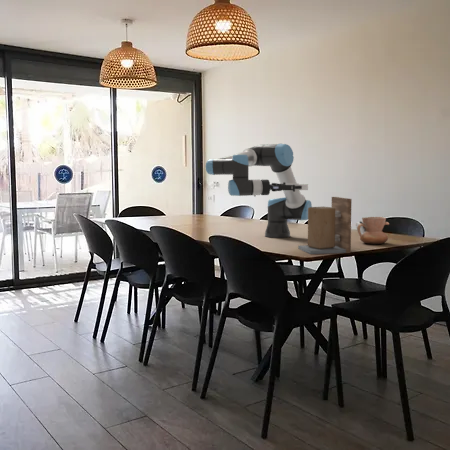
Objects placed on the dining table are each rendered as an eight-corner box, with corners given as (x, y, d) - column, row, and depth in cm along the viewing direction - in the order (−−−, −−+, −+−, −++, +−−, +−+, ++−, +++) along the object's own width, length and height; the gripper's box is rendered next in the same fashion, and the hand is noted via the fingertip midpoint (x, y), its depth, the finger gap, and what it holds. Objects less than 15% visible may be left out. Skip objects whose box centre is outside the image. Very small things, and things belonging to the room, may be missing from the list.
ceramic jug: (382, 241, 292) (382, 215, 291) (394, 244, 278) (394, 217, 277) (351, 242, 290) (351, 217, 288) (362, 246, 276) (362, 219, 274)
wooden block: (319, 249, 254) (319, 208, 252) (306, 247, 263) (307, 207, 260) (335, 248, 258) (336, 207, 256) (323, 245, 267) (323, 206, 265)
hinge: (373, 237, 309) (367, 221, 309) (365, 240, 310) (360, 224, 309) (366, 233, 326) (361, 218, 325) (359, 236, 326) (354, 221, 325)
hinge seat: (310, 254, 250) (310, 250, 250) (298, 248, 268) (298, 245, 268) (345, 252, 253) (345, 249, 253) (331, 247, 271) (331, 244, 271)
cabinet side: (344, 253, 252) (345, 198, 249) (328, 247, 272) (329, 196, 269) (350, 252, 253) (351, 198, 250) (334, 246, 272) (335, 196, 270)
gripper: (254, 194, 264) (295, 193, 268) (267, 196, 240) (311, 195, 244) (254, 179, 263) (295, 178, 267) (267, 180, 239) (311, 179, 243)
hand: (303, 186), depth 255 cm, fingers open, 13 cm apart
